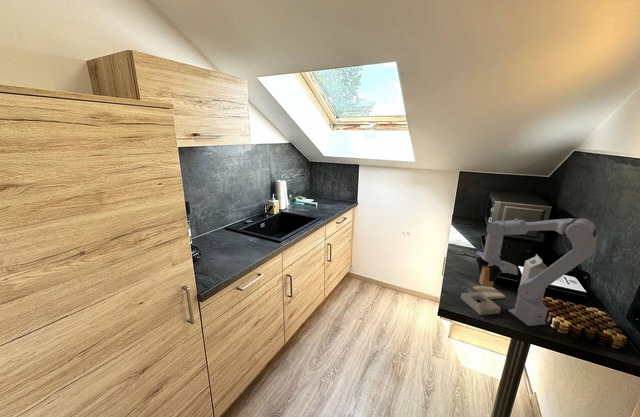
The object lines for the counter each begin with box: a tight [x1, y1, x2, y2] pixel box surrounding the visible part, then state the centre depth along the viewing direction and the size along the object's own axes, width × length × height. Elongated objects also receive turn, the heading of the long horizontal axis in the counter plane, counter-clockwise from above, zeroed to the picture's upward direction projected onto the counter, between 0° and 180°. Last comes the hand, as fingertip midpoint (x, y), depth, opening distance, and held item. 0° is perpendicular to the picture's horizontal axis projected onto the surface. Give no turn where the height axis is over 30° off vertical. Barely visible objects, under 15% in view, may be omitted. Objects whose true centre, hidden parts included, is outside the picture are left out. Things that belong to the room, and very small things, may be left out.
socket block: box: [460, 291, 502, 316], centre depth 113 cm, size 12×9×2 cm
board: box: [472, 285, 506, 300], centre depth 122 cm, size 9×9×1 cm
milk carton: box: [519, 253, 548, 299], centre depth 119 cm, size 7×7×19 cm
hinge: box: [488, 259, 519, 276], centre depth 136 cm, size 17×5×10 cm, turn 64°
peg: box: [478, 265, 495, 288], centre depth 115 cm, size 4×4×8 cm
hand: (487, 277), depth 116 cm, fingers closed on peg, 5 cm apart
